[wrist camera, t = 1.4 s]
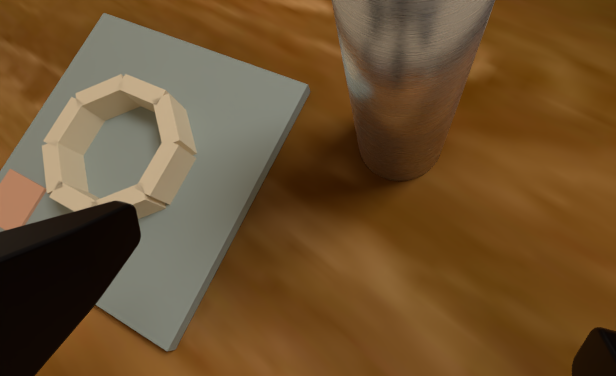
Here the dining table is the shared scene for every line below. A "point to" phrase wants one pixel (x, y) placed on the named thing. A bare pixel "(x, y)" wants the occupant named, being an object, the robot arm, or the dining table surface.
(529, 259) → the dining table surface
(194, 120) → the socket board
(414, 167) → the silver metal cylinder
